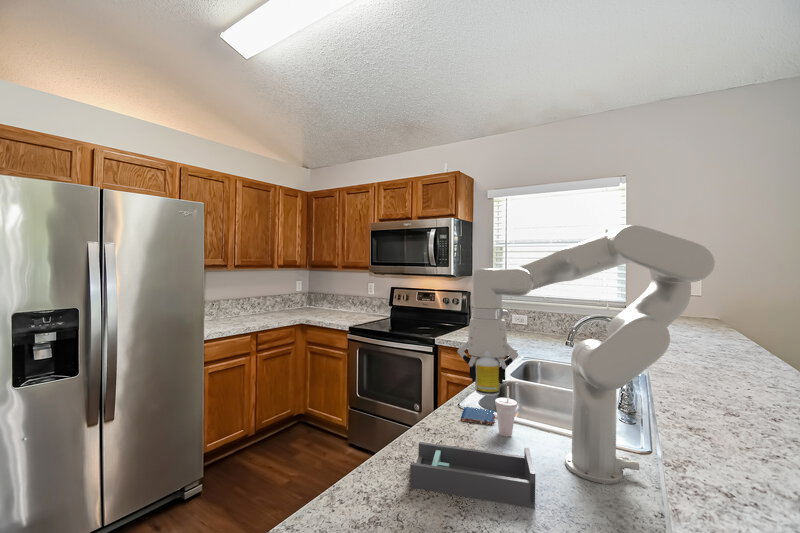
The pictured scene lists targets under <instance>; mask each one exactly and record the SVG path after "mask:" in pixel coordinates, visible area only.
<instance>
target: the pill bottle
mask: <svg viewBox="0 0 800 533" xmlns="http://www.w3.org/2000/svg"><path fill="white" fill-rule="evenodd" d="M483 356H491V354H490V353H489V352H488V351H486V352H485V353H484V355H483ZM474 365H475V381H474V390H475V393H477V394H478V395H480V396H484V397H495V396H498V395H499V394H500V391H501V386H500V385H501V384H500V362H499V360H498V358H491V357H477V358H476V360H475V362H474Z"/></svg>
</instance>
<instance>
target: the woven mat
mask: <svg viewBox="0 0 800 533" xmlns="http://www.w3.org/2000/svg"><path fill="white" fill-rule="evenodd" d="M476 409H477V410H476ZM485 410H486V411H485ZM490 411H491V412H490ZM494 412H495V410H494V409H493V410H491V409H486V408H481V407H480V408H478V407H473V406H472V407H470V406H466V407H464V406H463V410H462V414H461V419H460V421H461V422H463V421H464V422H466V423H470V422H475V423H477V422H479V424H480V423H481V424H480V425H483V424H482V422H483V423H486V425H488V424H490V425H491V424H493V425H495V423H496V419H495V417H496V415H494V414H493V413H494ZM487 413H488V414H487Z"/></svg>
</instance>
